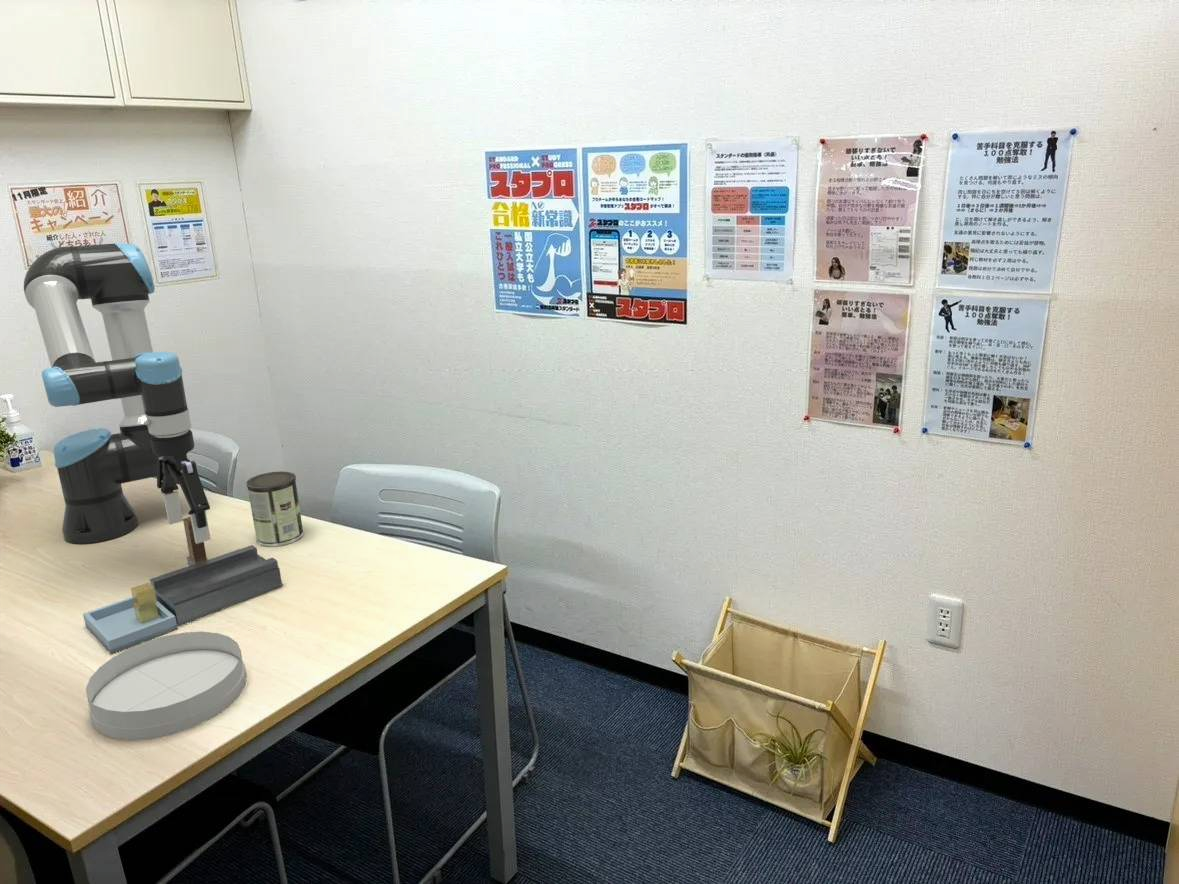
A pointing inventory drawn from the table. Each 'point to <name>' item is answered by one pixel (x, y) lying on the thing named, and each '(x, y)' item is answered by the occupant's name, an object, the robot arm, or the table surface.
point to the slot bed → (216, 583)
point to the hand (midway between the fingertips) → (189, 531)
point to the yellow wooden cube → (146, 613)
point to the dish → (165, 685)
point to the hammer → (193, 545)
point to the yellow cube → (143, 595)
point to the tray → (126, 625)
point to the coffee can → (275, 508)
